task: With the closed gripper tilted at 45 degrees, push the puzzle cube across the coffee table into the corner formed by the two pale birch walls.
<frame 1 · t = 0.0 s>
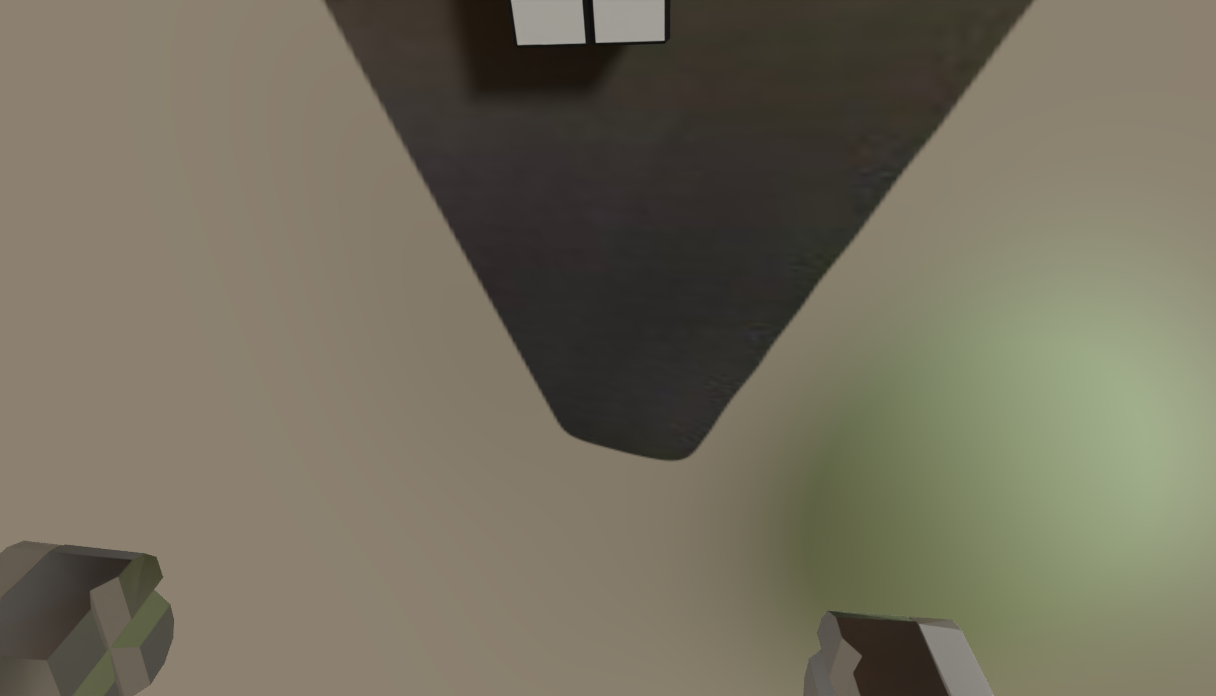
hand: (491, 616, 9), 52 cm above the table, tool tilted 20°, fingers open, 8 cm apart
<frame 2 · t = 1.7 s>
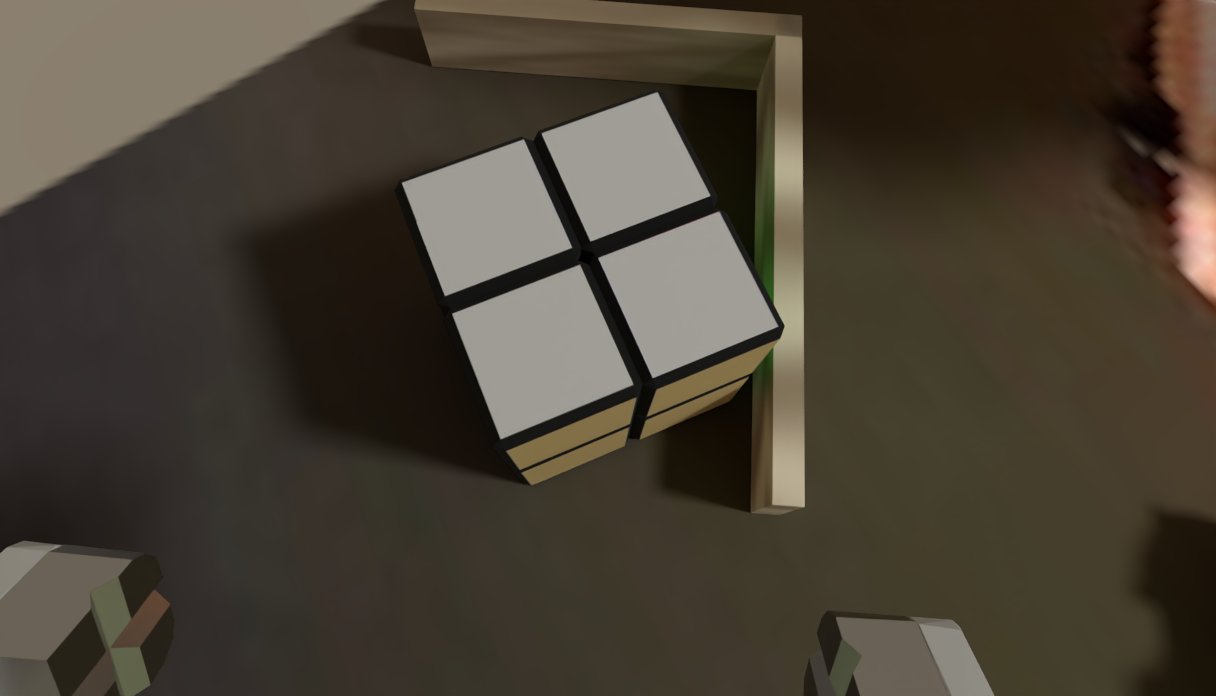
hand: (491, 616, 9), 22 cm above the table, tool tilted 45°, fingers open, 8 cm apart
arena: (602, 166, 36), on the table
puzzle cube: (587, 344, 34), on the table
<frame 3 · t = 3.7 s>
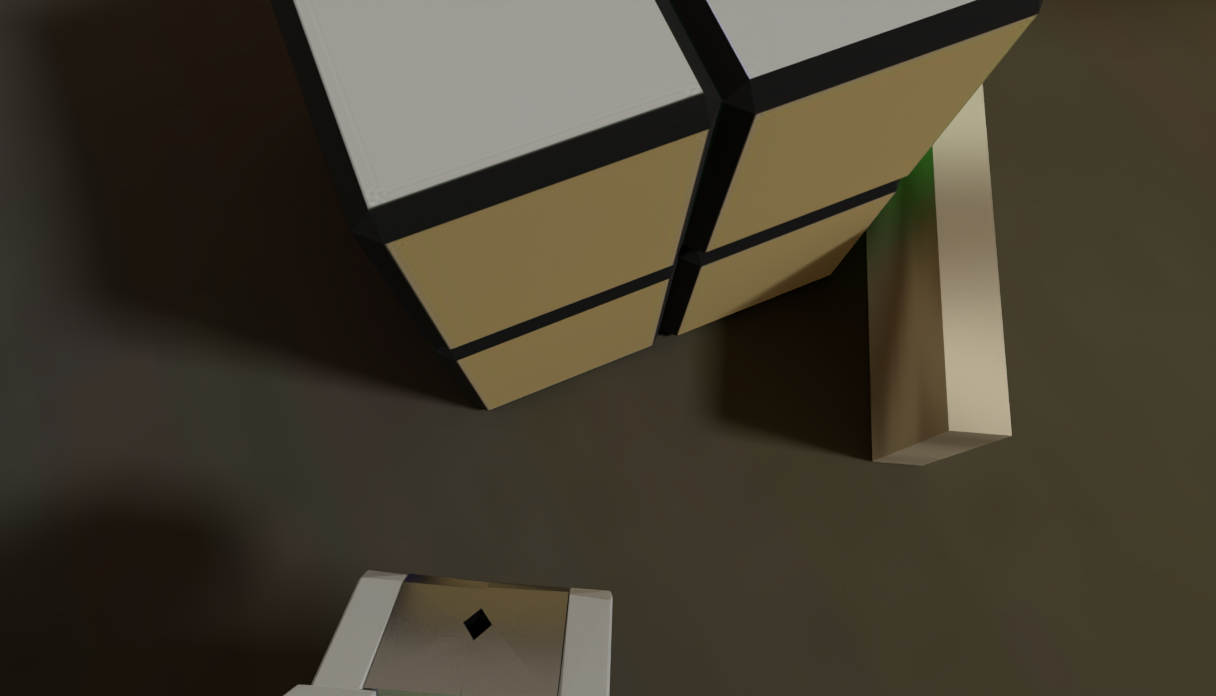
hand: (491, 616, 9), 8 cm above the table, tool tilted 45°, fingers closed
puzzle cube: (588, 186, 20), on the table
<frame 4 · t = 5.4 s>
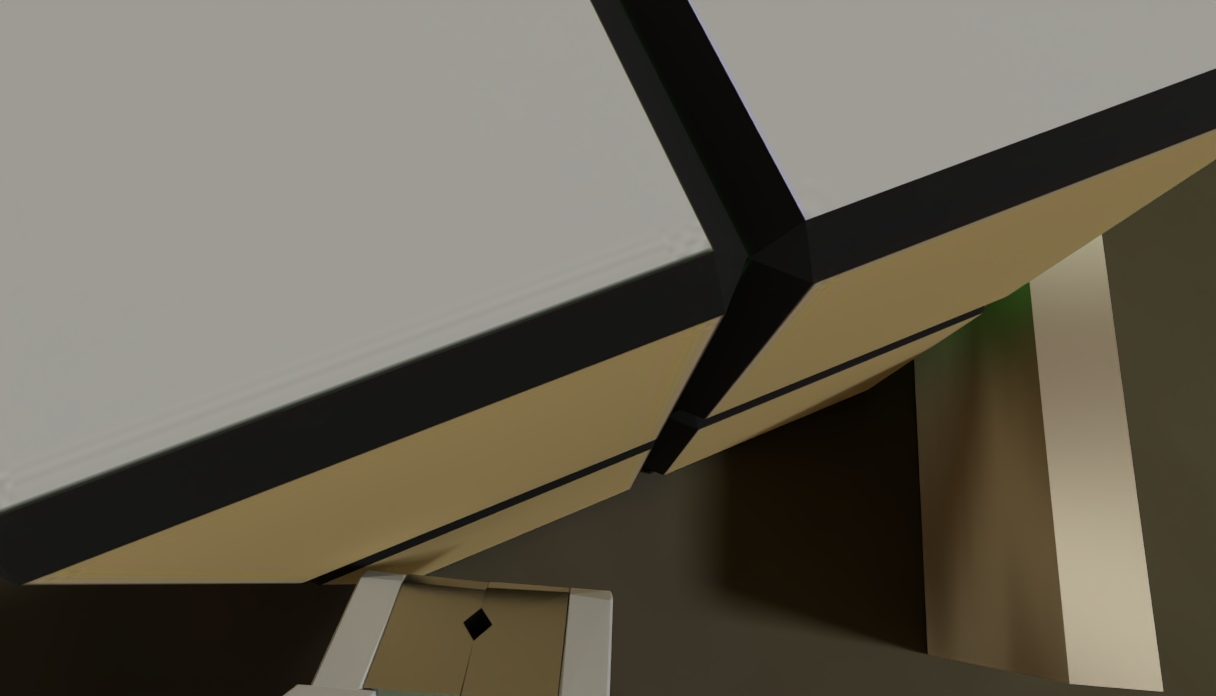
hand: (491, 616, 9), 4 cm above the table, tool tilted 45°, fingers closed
puzzle cube: (550, 263, 16), on the table, touching gripper
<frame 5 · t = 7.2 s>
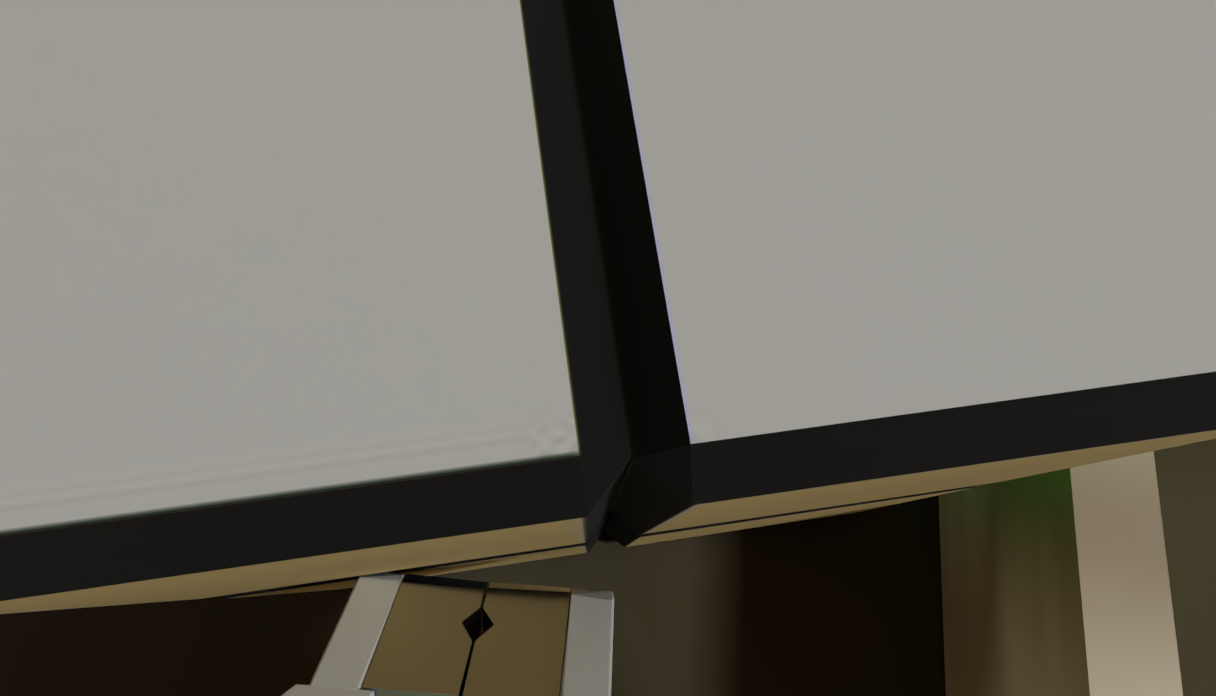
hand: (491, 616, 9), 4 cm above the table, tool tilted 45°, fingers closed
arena: (569, 255, 15), on the table
puzzle cube: (570, 302, 15), on the table, touching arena, gripper
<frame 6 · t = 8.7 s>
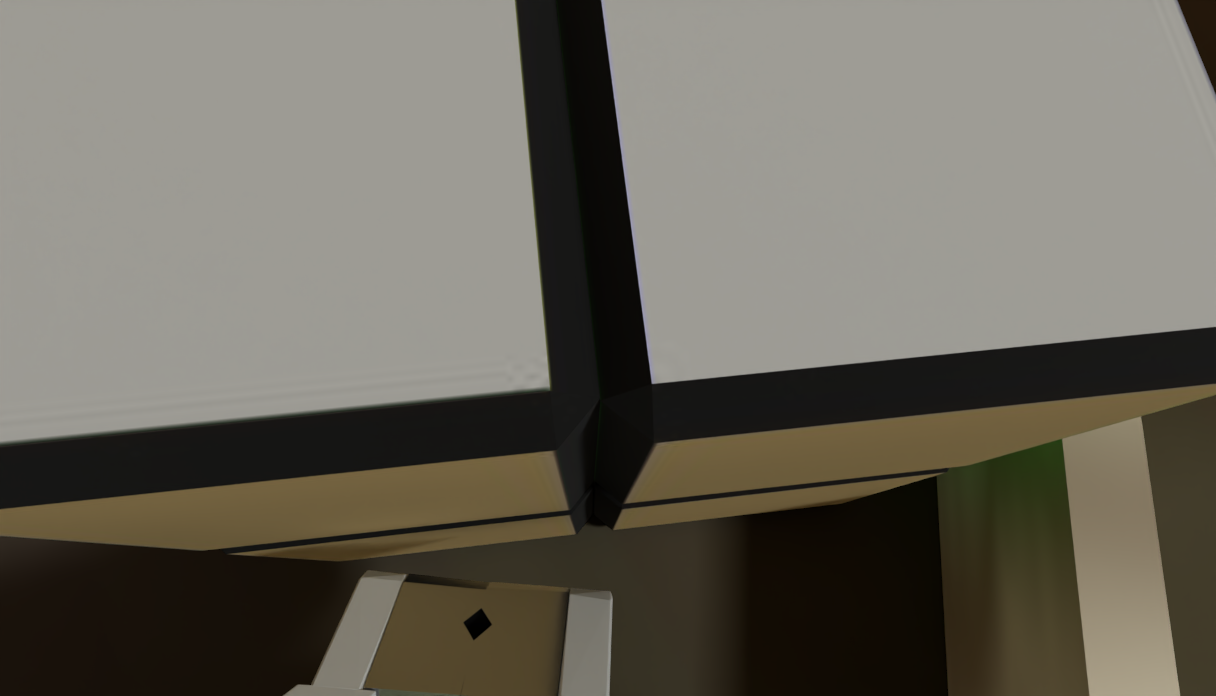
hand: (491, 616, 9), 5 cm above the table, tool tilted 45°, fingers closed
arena: (573, 252, 16), on the table
puzzle cube: (568, 293, 16), on the table
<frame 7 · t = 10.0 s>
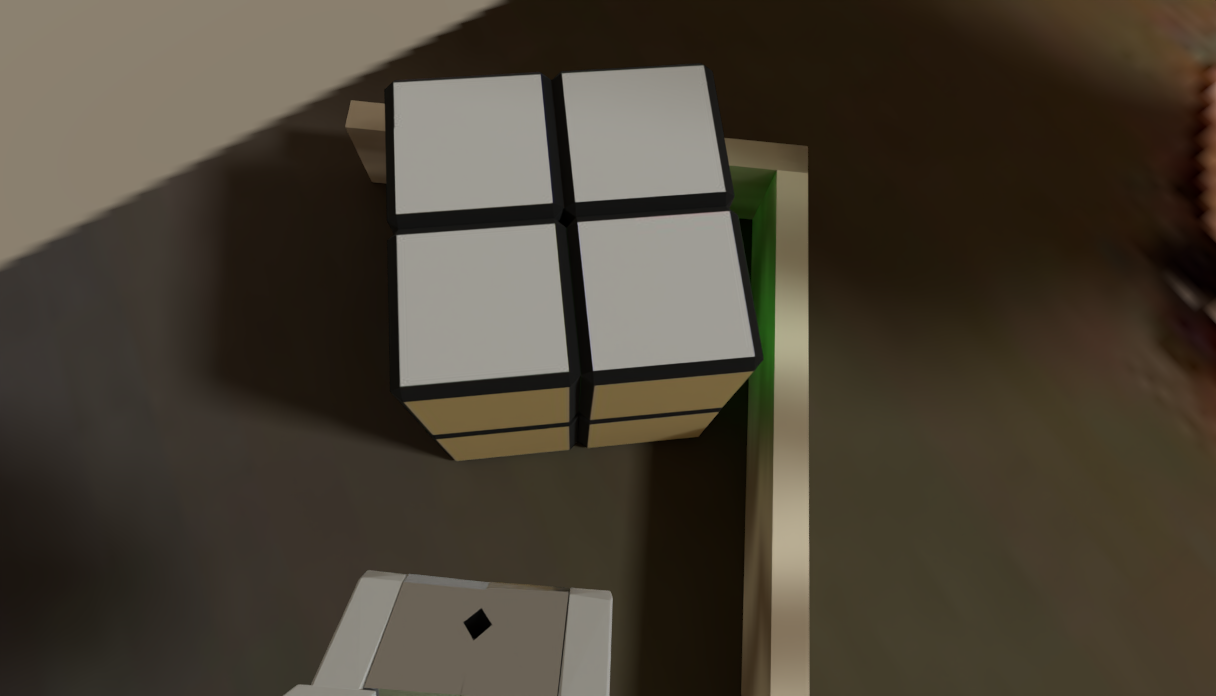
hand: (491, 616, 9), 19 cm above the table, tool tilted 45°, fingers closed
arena: (569, 310, 30), on the table
puzzle cube: (566, 331, 30), on the table
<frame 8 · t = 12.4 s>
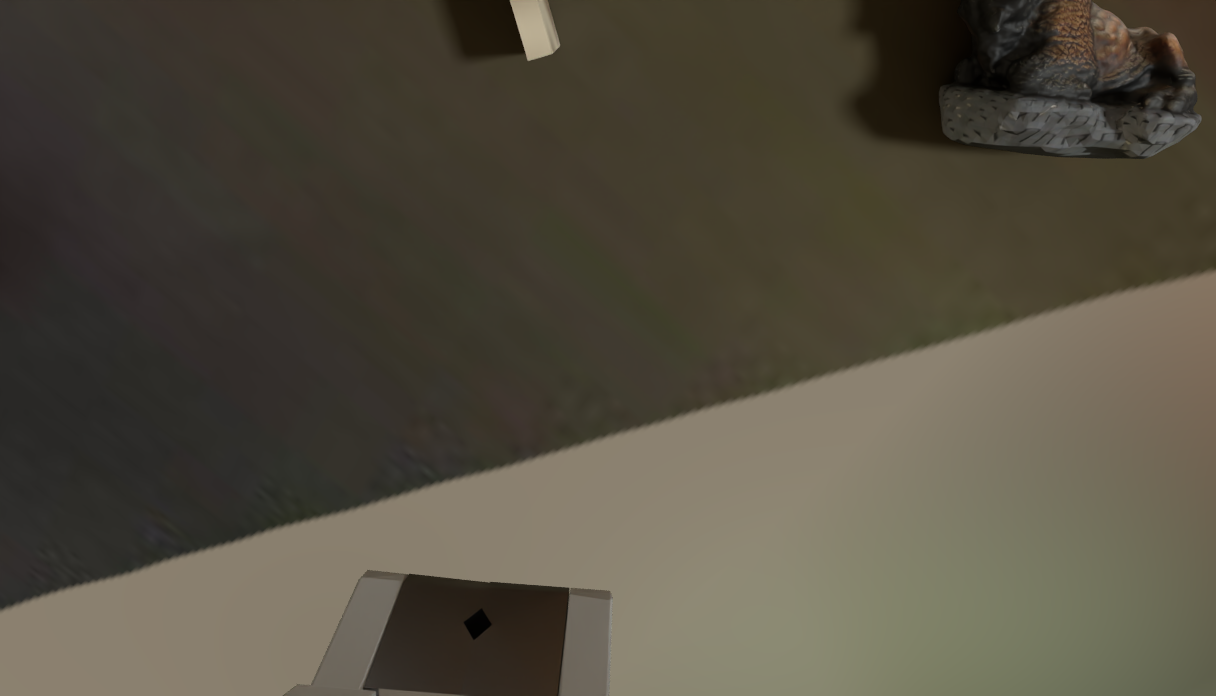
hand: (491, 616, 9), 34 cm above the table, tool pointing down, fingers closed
bison figurine: (1042, 41, 37), on the table
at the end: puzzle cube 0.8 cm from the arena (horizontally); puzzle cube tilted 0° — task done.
